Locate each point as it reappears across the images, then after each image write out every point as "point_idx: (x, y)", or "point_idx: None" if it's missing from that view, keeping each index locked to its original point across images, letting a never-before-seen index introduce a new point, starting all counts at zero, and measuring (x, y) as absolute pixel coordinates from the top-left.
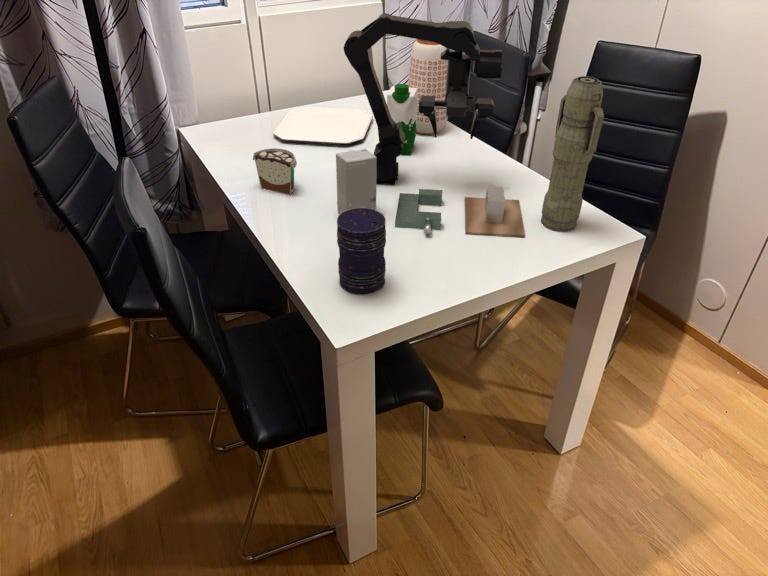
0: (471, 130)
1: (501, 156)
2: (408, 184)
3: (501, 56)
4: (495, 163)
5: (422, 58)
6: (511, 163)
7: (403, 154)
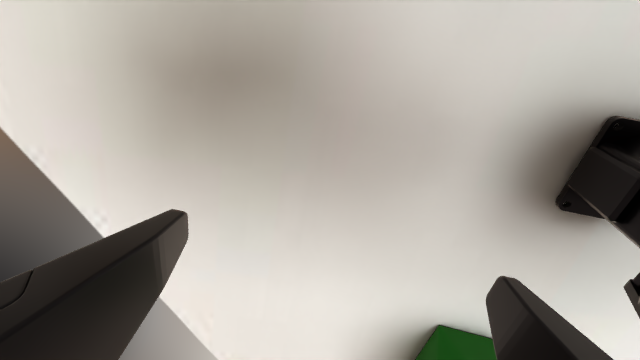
0: (141, 285)
1: None
2: (539, 119)
3: None
4: None
5: None
6: None
7: (462, 331)
